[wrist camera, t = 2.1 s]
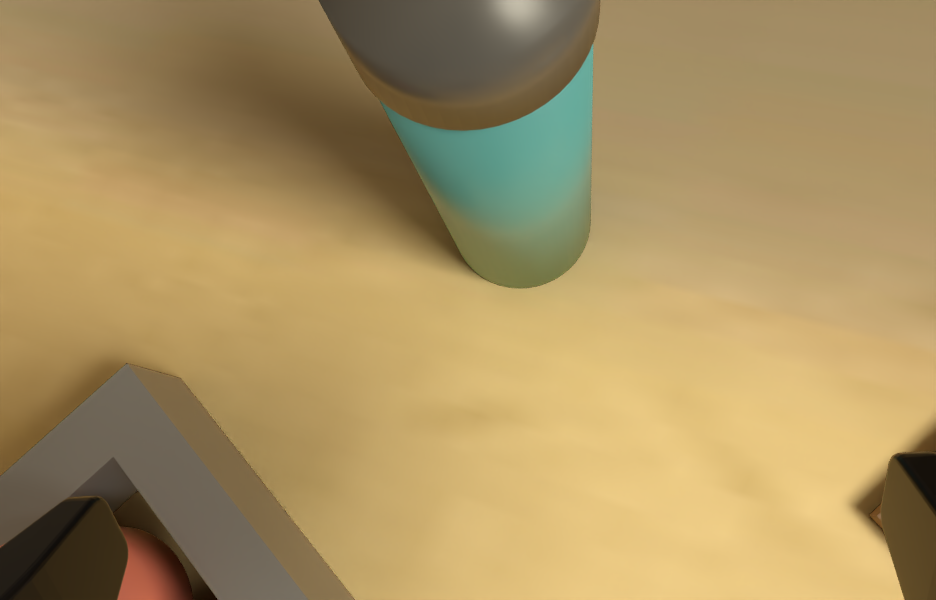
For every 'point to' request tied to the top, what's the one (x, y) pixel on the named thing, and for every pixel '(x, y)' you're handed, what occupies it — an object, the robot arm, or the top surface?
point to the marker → (489, 119)
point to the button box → (171, 487)
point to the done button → (152, 570)
